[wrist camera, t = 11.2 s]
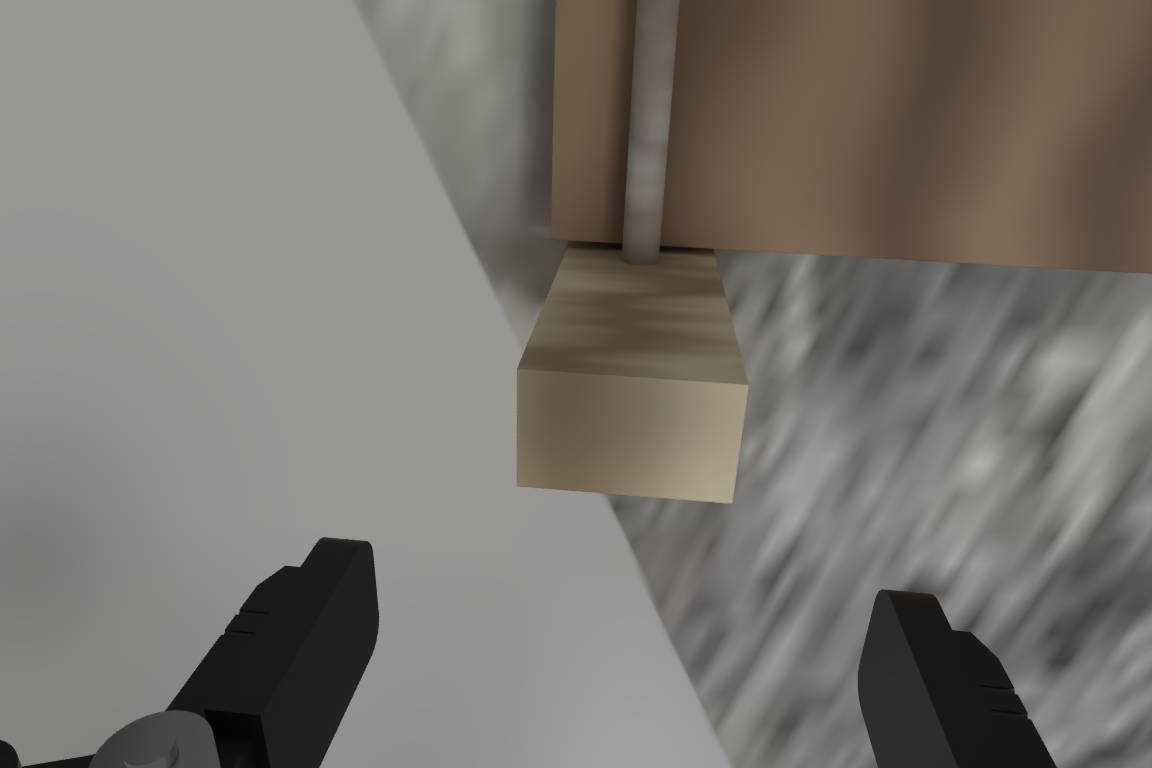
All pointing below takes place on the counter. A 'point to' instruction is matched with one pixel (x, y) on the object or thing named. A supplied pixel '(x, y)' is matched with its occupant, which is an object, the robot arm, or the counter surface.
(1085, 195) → the walnut board
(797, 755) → the counter surface
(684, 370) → the marking gauge
